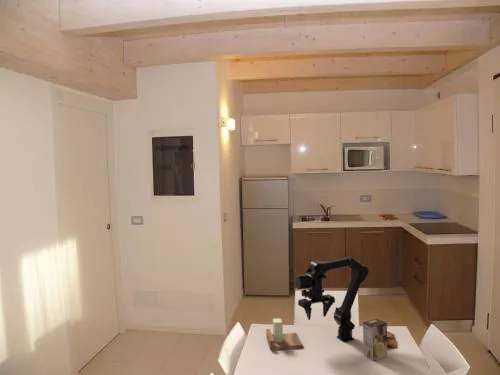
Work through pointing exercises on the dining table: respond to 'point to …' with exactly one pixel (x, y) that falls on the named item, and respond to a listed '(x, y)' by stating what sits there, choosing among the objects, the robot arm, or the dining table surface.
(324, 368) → the dining table surface
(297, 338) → the edge board
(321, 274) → the robot arm
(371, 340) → the coffee box
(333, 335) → the dining table surface
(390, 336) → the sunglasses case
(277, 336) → the pale green block
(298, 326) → the dining table surface
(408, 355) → the dining table surface
